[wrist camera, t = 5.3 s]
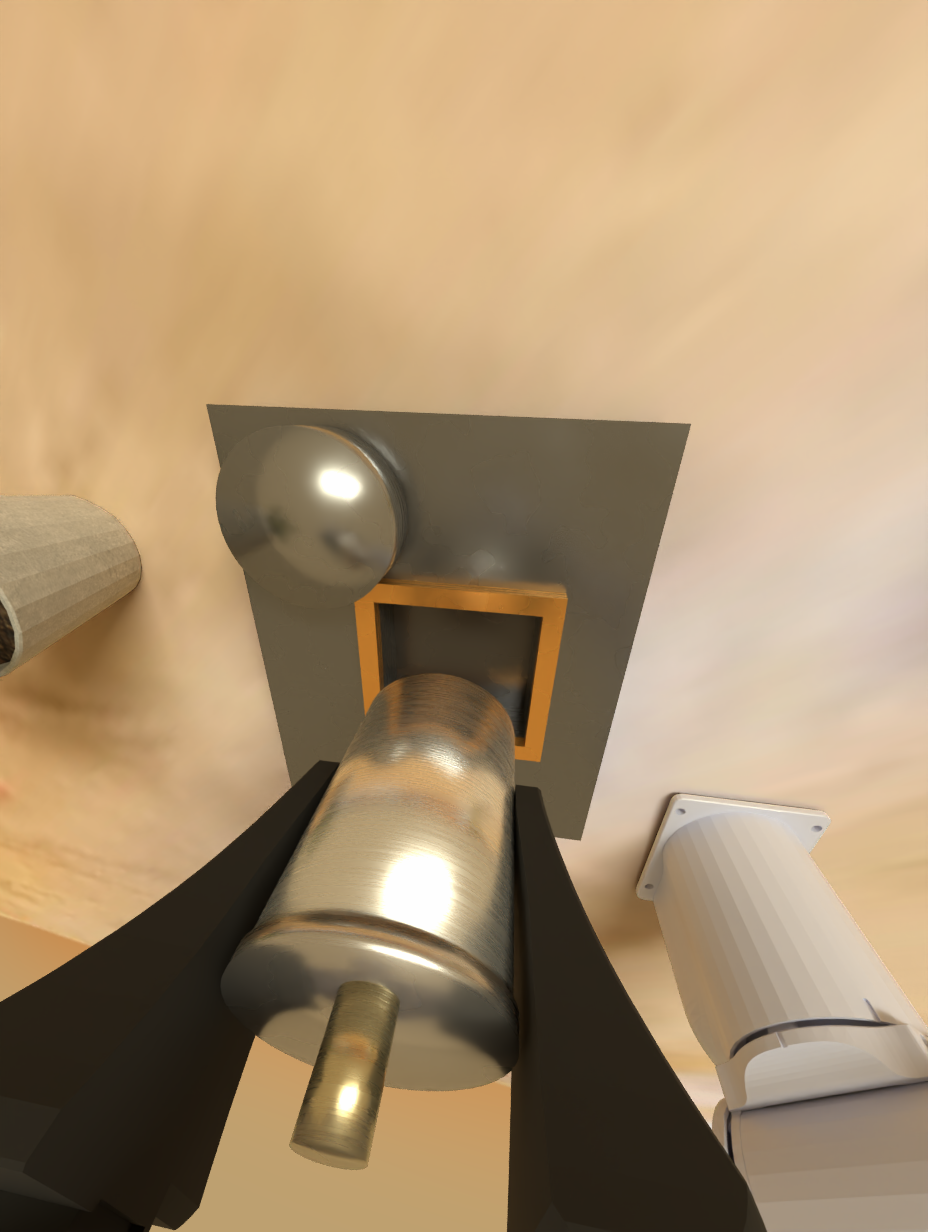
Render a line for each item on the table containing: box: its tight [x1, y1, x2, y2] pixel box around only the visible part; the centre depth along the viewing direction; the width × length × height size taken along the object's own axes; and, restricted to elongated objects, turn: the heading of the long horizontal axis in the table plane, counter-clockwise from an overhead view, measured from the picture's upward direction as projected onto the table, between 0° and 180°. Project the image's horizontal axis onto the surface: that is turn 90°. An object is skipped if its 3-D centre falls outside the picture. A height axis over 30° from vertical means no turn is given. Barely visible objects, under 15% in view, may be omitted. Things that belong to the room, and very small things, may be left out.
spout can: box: [220, 673, 520, 1170], centre depth 9 cm, size 5×5×9 cm
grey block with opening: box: [206, 404, 691, 841], centre depth 17 cm, size 20×16×4 cm
